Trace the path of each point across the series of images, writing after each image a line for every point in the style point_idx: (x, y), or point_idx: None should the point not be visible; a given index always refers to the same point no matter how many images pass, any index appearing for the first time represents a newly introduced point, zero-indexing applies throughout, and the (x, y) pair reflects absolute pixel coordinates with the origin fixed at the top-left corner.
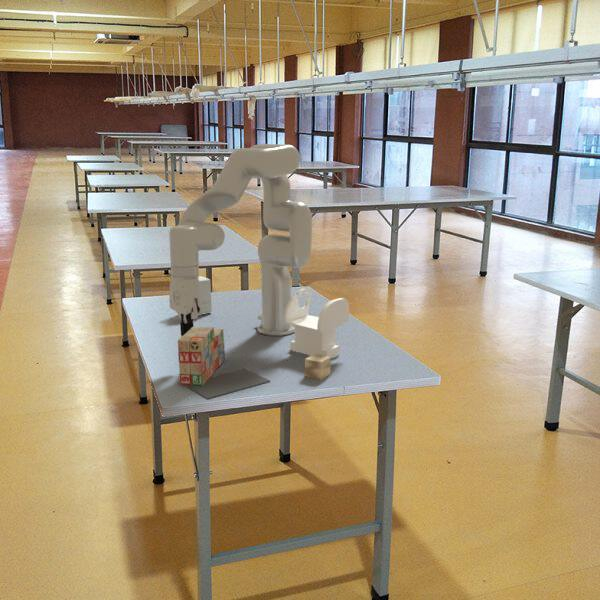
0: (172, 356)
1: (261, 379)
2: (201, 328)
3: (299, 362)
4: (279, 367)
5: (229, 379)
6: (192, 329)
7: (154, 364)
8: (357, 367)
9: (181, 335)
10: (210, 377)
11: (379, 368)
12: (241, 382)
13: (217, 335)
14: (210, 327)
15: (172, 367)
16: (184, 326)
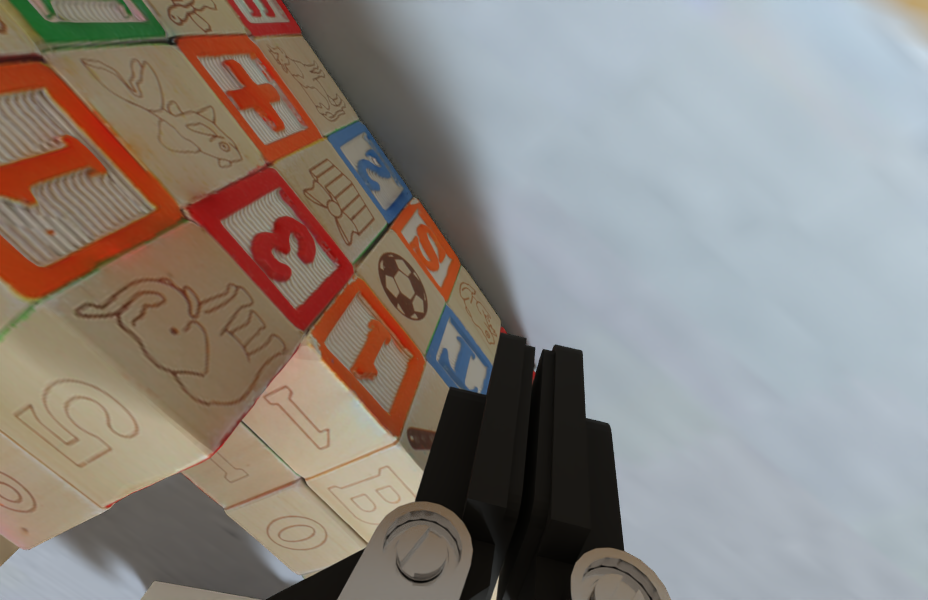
0: (810, 291)
1: None
2: (36, 457)
3: (184, 535)
4: None
5: None
6: (38, 351)
7: (835, 39)
8: (44, 568)
9: (564, 347)
10: None
11: (11, 582)
12: None
13: (224, 505)
14: (35, 533)
15: (607, 109)
16: (473, 461)
